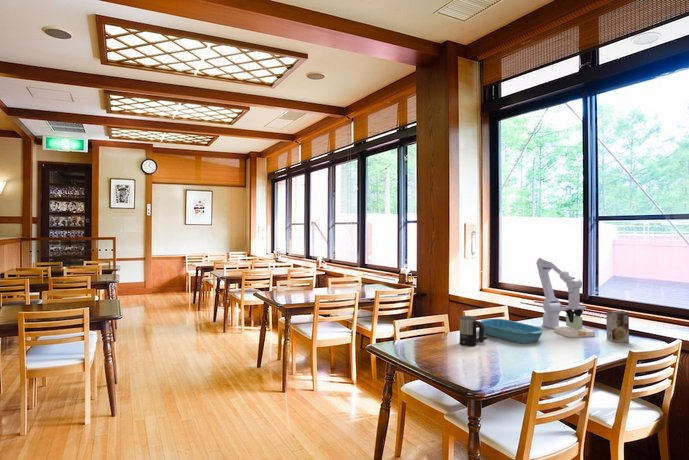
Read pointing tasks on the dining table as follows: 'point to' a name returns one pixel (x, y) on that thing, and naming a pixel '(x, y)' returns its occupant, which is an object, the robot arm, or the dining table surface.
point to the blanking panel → (574, 322)
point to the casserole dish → (511, 330)
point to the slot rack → (574, 332)
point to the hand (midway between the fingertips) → (574, 322)
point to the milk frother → (470, 331)
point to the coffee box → (618, 326)
